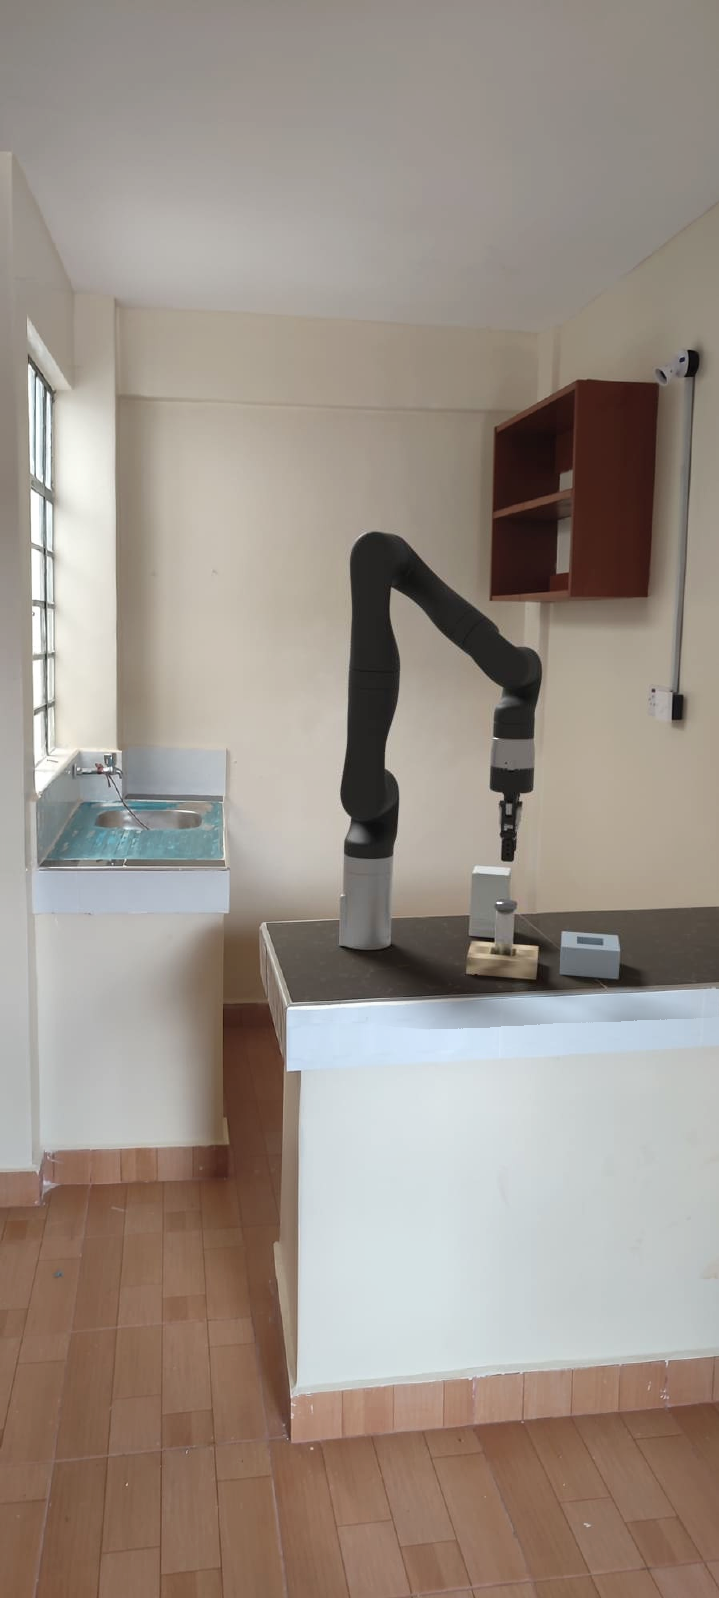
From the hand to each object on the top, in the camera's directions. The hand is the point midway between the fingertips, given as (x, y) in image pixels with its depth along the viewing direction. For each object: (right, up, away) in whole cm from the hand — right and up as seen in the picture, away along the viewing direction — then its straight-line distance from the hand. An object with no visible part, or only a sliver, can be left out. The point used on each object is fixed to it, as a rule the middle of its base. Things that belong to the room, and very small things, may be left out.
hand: (508, 856), depth 198 cm
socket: (+15, -20, +4) cm, 25 cm away
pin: (-1, -20, +3) cm, 20 cm away
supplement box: (-1, -17, +25) cm, 30 cm away
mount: (-1, -20, +3) cm, 20 cm away
